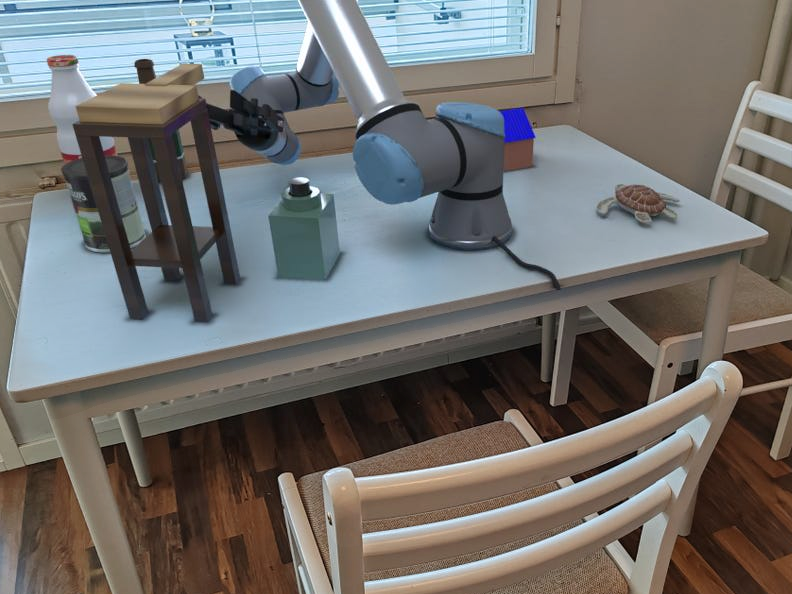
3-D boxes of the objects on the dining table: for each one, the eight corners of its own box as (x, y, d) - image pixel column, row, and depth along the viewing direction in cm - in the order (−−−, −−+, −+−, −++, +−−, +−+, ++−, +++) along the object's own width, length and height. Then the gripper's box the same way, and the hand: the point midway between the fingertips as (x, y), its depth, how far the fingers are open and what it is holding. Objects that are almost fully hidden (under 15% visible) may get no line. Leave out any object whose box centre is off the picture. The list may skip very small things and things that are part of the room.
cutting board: (162, 124, 95) (158, 107, 93) (79, 121, 95) (74, 104, 94) (229, 79, 114) (227, 64, 113) (160, 77, 115) (157, 62, 114)
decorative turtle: (653, 190, 156) (656, 167, 153) (701, 220, 143) (705, 195, 141) (577, 202, 150) (579, 179, 147) (620, 234, 137) (623, 209, 135)
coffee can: (99, 258, 127) (74, 179, 119) (76, 240, 133) (51, 164, 125) (156, 241, 133) (137, 165, 125) (132, 224, 139) (112, 150, 131)
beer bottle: (176, 184, 157) (149, 65, 143) (143, 181, 158) (113, 63, 144) (195, 172, 163) (171, 57, 150) (163, 169, 164) (136, 55, 151)
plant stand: (207, 322, 110) (162, 127, 94) (129, 318, 111) (71, 124, 94) (240, 279, 121) (205, 98, 105) (169, 275, 122) (124, 95, 106)
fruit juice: (134, 196, 151) (95, 50, 135) (125, 214, 143) (83, 62, 127) (85, 199, 149) (40, 52, 134) (73, 217, 142) (24, 64, 126)
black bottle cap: (307, 199, 117) (305, 184, 116) (288, 198, 118) (285, 184, 116) (313, 191, 120) (311, 177, 119) (293, 190, 120) (291, 176, 119)
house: (432, 164, 169) (430, 112, 162) (508, 151, 176) (510, 101, 170) (455, 180, 160) (454, 126, 153) (534, 166, 168) (537, 114, 161)
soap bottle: (325, 280, 121) (316, 205, 114) (278, 277, 122) (266, 203, 115) (340, 253, 130) (332, 182, 122) (295, 251, 130) (285, 180, 123)
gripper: (310, 153, 142) (268, 123, 120) (209, 149, 144) (149, 119, 121) (311, 113, 142) (269, 76, 119) (210, 110, 143) (150, 72, 120)
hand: (209, 98), depth 120 cm, fingers open, 7 cm apart
